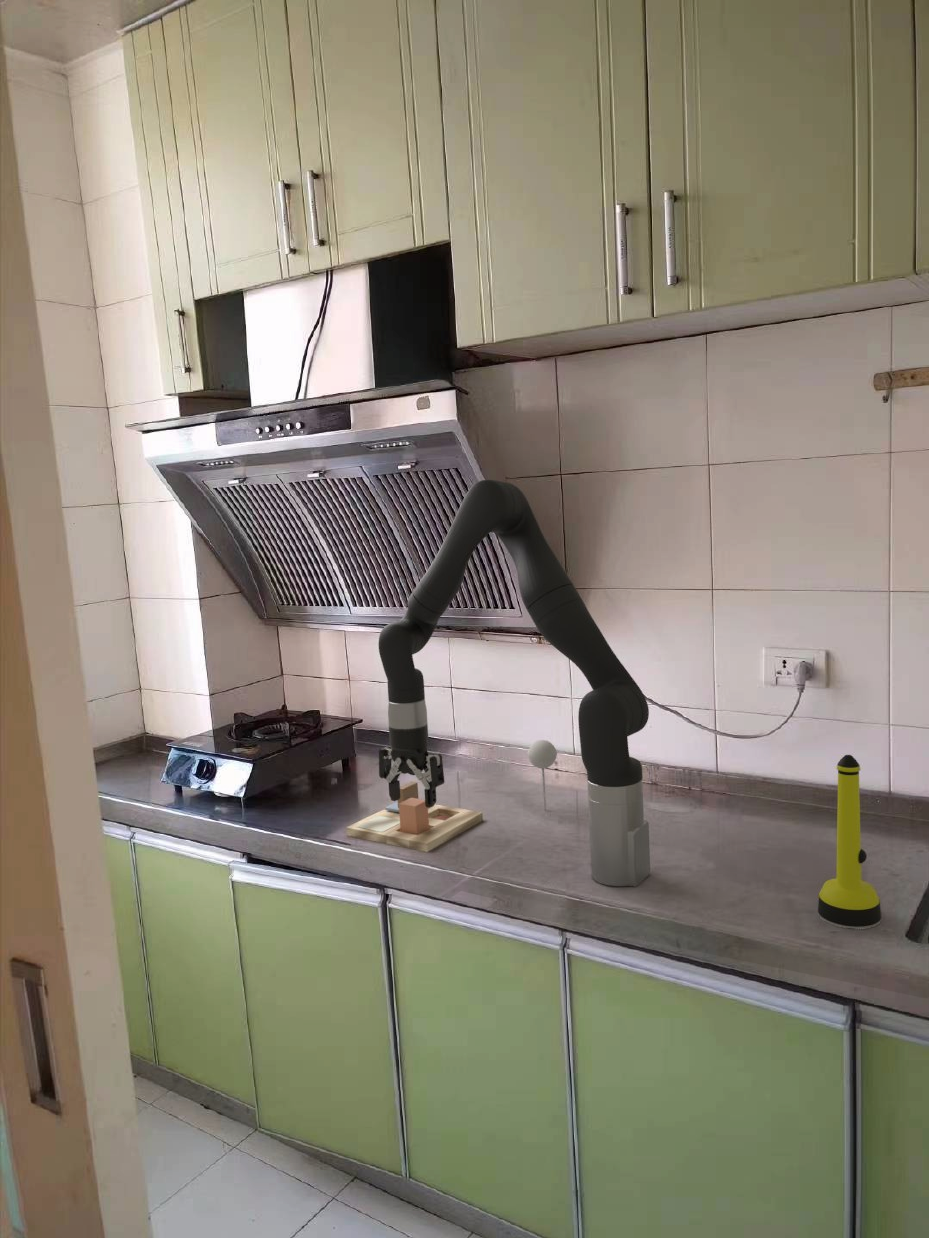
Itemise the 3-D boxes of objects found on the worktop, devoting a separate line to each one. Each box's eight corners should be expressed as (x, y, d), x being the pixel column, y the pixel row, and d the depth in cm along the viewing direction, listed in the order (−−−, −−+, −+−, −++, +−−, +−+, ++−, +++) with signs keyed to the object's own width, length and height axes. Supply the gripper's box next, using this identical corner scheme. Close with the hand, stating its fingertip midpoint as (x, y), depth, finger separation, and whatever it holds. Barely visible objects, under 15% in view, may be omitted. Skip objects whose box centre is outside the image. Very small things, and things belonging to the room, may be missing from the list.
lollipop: (564, 807, 197) (561, 737, 195) (552, 816, 192) (548, 745, 190) (537, 803, 201) (534, 735, 199) (525, 812, 196) (521, 742, 194)
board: (482, 821, 192) (482, 811, 191) (427, 853, 176) (426, 843, 176) (405, 807, 203) (404, 798, 203) (347, 836, 187) (346, 826, 187)
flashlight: (810, 760, 137) (876, 766, 132) (822, 744, 145) (885, 749, 140) (812, 922, 140) (877, 933, 136) (823, 898, 148) (885, 909, 143)
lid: (432, 804, 197) (430, 782, 197) (411, 814, 192) (410, 792, 191) (405, 799, 201) (404, 778, 201) (385, 809, 196) (383, 787, 195)
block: (429, 834, 185) (427, 800, 184) (417, 841, 182) (415, 806, 181) (413, 831, 187) (411, 797, 186) (401, 838, 184) (398, 803, 183)
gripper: (449, 721, 181) (453, 802, 183) (391, 714, 189) (396, 792, 191) (425, 731, 175) (430, 814, 177) (367, 723, 183) (372, 803, 185)
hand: (412, 802), depth 184 cm, fingers open, 8 cm apart
